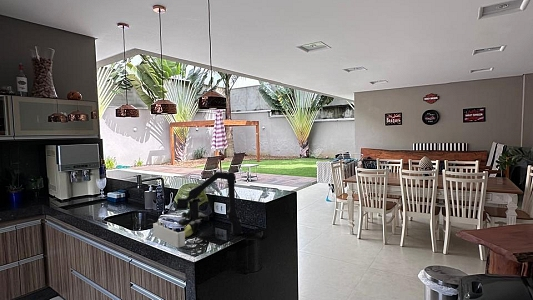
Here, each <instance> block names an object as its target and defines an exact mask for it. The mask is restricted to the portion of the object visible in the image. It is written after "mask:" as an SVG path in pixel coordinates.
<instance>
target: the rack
mask: <svg viewBox="0 0 533 300" xmlns="http://www.w3.org/2000/svg"><path fill="white" fill-rule="evenodd" d="M152 225H153V226H152V227H153V228H152V232H153V234H152V236H153V237H154V238H157V239H159V240H161V241H162V242H165V243H167V244H169V245H171V246H173V247H176V248H177V249H179V248H183V247H185V246H186V237H185V232H184V230H183V231H180V232H177V231H176V230H174V227H175V226H174V225H172V226H171V227H172V228H169V225H170V224H169V223H167V224H166V226H167V227H165V225H164V221H162V222H161V221H160V220H157V222H155V223H152Z"/></svg>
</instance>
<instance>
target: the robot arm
mask: <svg viewBox="0 0 533 300" xmlns="http://www.w3.org/2000/svg"><path fill="white" fill-rule="evenodd" d="M218 179H220V180H226V182H227V186H228V198H229V199H228V200H229V202H228V203H229V210H227V211H226V212H227V220H228V222H230V224H231V225H230V227H231V228H230V231H231V232H229V234H230V235H232V236H239V235H242V234H244V232H242V220H241V218H240V217H239V216H238V212H237V208H236V194H235V185H236V184H235V183H236V174H235V172H234V171H228V172H225V171H223V172H222V171H216V172H214V173H213V174H212V175H211V176H209V178H207V179H206V180H205V181H203V182H202V183H201V184H199V185H197V186H195V187H193V188H192V189H190V190H189V192H188V196H187V197H186V198H181V197H180V198H179V197H178V198H177V200H176V210H178V211H179V210H187V209H188V210H187V212H186V211H183V212H181V218H182V219H179V220H178V225H180V226H182V227H184V226H186V225H188V224H189V225H190V226H191V229H192V231H193V234H194V235H195V234H196V233H197V231H198V229H199V227H200V225H201V224H202V220H204V221H205V222H207V221H209V220H210V217H209V215H208V214H201V215H200V213H201V211H200V209H199V208H200V204H199V203H201V202H202V199H201V197H199V196H200V195H201V193H202V192H204V190H205V189H207V188H208V187H209V186H210V185H212V184H213V183H214V182H216V181H217V180H218Z"/></svg>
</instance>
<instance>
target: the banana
mask: <svg viewBox="0 0 533 300" xmlns="http://www.w3.org/2000/svg"><path fill="white" fill-rule="evenodd" d="M183 229H184V230H183V231H184V232H185V238H188V237H190V236H191V235H192V234H193V231H192V229H191V226H190V225H189V224H188V225H187V226H186V227H185V228H184V227H183Z"/></svg>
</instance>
